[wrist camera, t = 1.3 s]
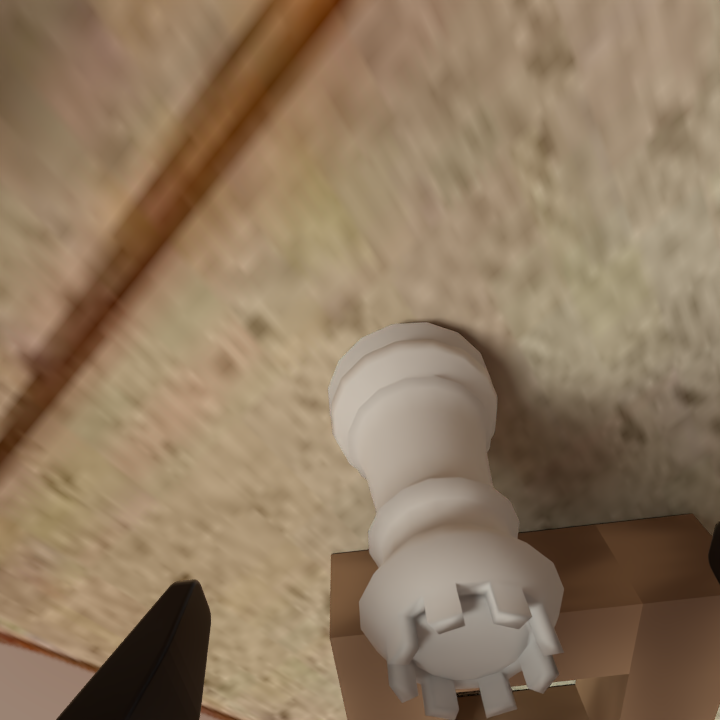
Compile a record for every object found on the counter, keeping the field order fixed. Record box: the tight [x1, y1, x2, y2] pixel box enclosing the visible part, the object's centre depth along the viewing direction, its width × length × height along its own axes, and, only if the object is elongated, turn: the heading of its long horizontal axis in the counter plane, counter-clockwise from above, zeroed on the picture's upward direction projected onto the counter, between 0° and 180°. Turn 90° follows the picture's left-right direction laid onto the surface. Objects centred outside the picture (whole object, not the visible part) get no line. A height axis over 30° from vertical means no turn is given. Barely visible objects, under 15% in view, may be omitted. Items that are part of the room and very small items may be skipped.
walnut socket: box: [330, 514, 720, 720], centre depth 18 cm, size 12×12×3 cm
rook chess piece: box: [328, 322, 564, 720], centre depth 11 cm, size 4×4×8 cm
